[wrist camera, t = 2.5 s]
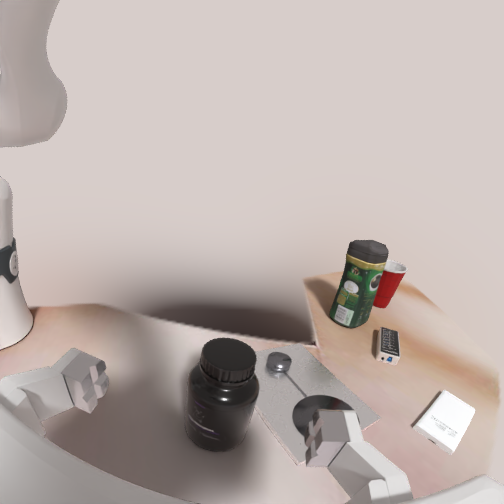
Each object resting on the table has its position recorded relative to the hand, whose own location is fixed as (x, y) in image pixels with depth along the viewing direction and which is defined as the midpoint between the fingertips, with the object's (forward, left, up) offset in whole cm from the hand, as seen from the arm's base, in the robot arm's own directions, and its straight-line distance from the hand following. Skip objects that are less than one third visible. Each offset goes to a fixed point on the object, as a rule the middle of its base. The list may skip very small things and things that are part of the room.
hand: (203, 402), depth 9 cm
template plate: (+19, +12, -19) cm, 30 cm away
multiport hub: (+44, +15, -19) cm, 50 cm away
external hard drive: (+36, -6, -19) cm, 42 cm away
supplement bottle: (+6, +10, -19) cm, 22 cm away
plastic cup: (+61, +31, -19) cm, 71 cm away
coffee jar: (+44, +27, -19) cm, 55 cm away
